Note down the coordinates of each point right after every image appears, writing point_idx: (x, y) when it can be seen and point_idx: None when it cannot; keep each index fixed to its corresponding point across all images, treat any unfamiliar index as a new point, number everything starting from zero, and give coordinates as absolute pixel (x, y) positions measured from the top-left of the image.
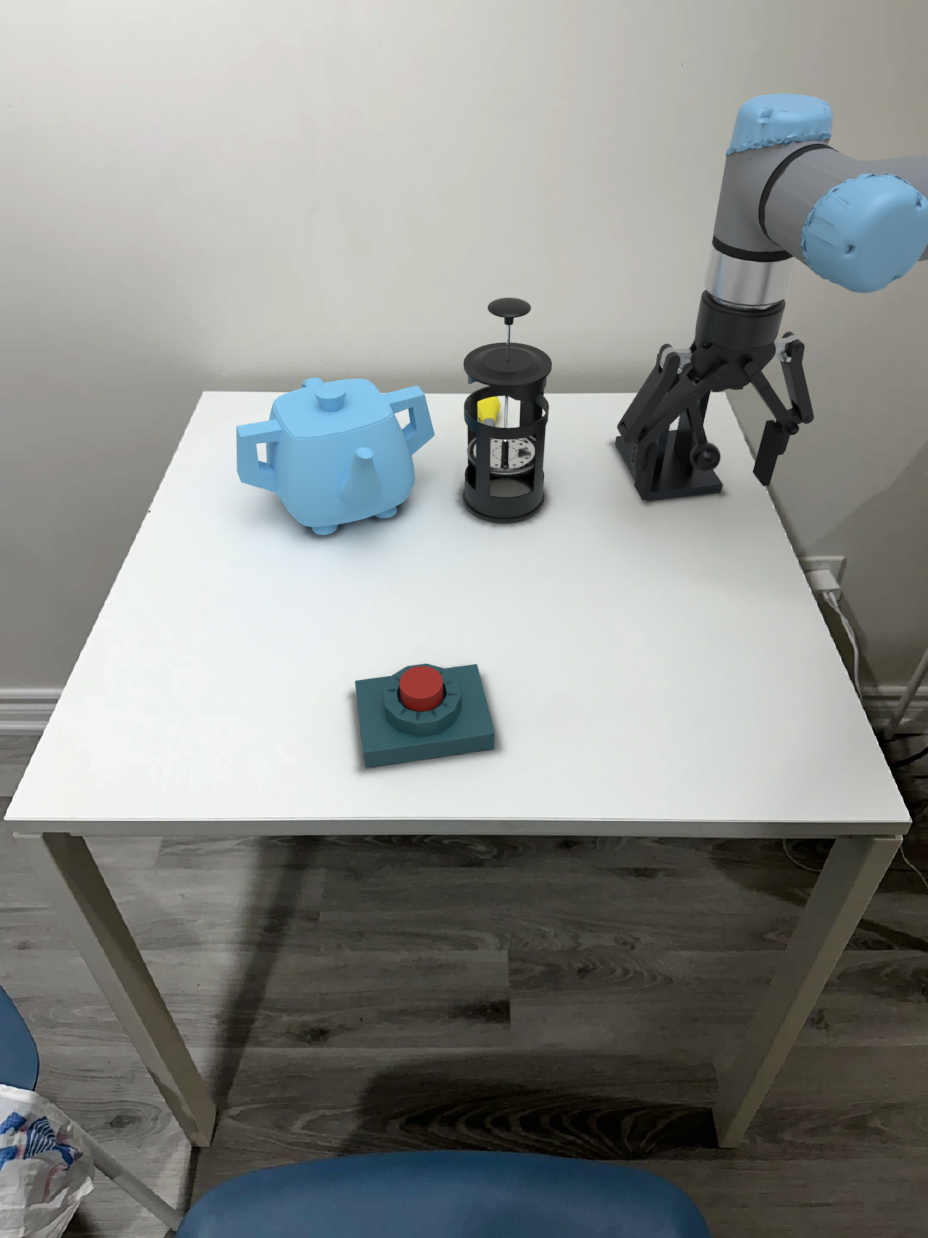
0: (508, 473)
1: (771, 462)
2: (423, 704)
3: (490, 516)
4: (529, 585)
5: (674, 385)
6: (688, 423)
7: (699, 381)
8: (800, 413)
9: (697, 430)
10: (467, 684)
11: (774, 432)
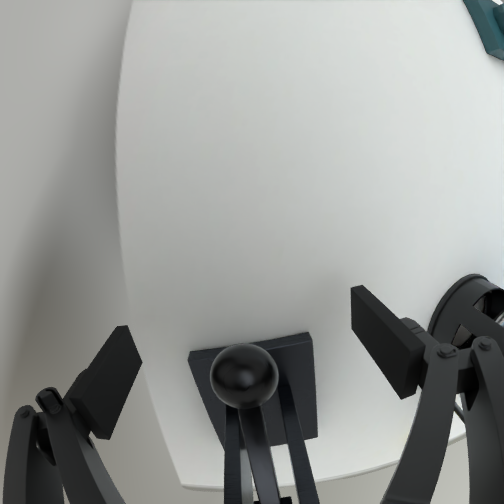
0: None
1: (105, 354)
2: None
3: (485, 279)
4: (469, 159)
5: None
6: (244, 454)
7: None
8: (32, 428)
9: (260, 434)
10: (498, 32)
11: (89, 406)
